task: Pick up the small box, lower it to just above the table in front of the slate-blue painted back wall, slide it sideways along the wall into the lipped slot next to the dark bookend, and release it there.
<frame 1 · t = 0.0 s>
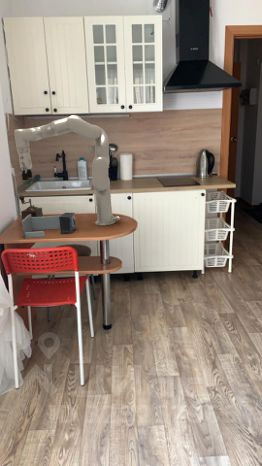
hand: (27, 178, 232), 31 cm above the table, fingers open, 9 cm apart
shelf: (45, 232, 228), on the table
pepper mill: (30, 223, 255), on the table
small box: (68, 231, 227), on the table
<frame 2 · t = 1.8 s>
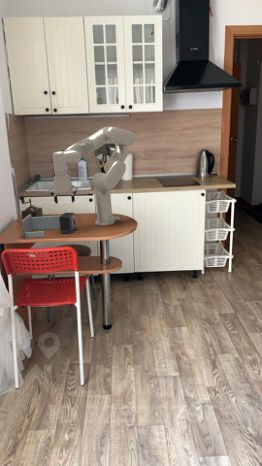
hand: (64, 202, 222), 18 cm above the table, fingers open, 9 cm apart
nothing on the table moved.
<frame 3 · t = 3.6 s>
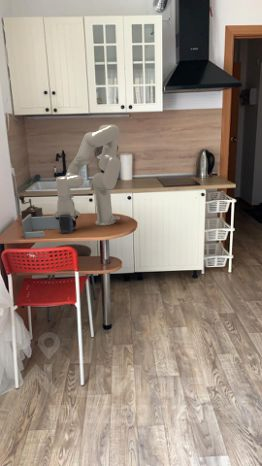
hand: (68, 226, 227), 3 cm above the table, fingers closed on small box, 7 cm apart
small box: (68, 231, 227), on the table, touching gripper
everything else where it was.
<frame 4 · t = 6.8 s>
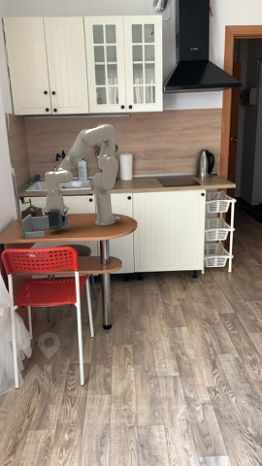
hand: (57, 222, 226), 6 cm above the table, fingers closed on small box, 7 cm apart
small box: (57, 227, 227), point 3 cm above the table, touching gripper
everything else where it was.
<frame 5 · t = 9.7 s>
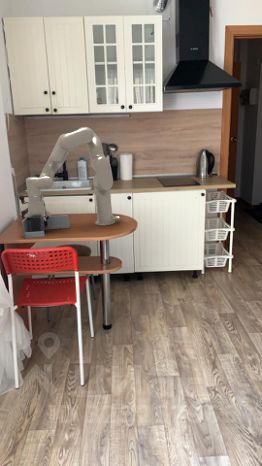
hand: (39, 227, 227), 4 cm above the table, fingers closed on small box, 7 cm apart
small box: (40, 232, 228), point 1 cm above the table, touching gripper
everything else where it was.
when the fingers open (4 cm above the table, at t = 10.1 s): small box stays where it is, on the table.
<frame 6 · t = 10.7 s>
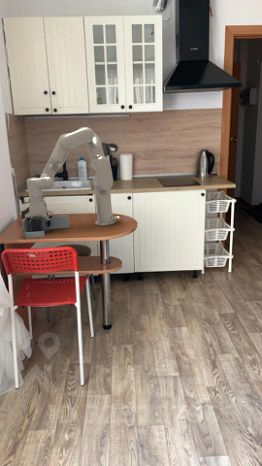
hand: (41, 227, 227), 4 cm above the table, fingers open, 9 cm apart
small box: (41, 233, 228), on the table
everything else where it was.
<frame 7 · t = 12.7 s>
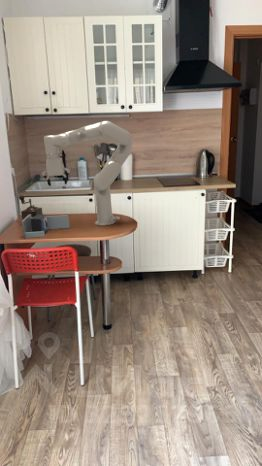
hand: (57, 185, 230), 27 cm above the table, fingers open, 9 cm apart
nothing on the table moved.
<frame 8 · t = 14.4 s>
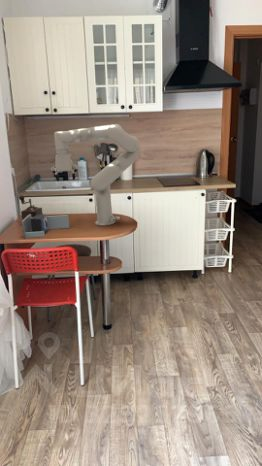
hand: (66, 180, 234), 28 cm above the table, fingers open, 9 cm apart
nothing on the table moved.
at the end: small box inside the target area (1.4 cm from its centre), on the table; small box tilted 0°; the gripper is holding nothing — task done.
